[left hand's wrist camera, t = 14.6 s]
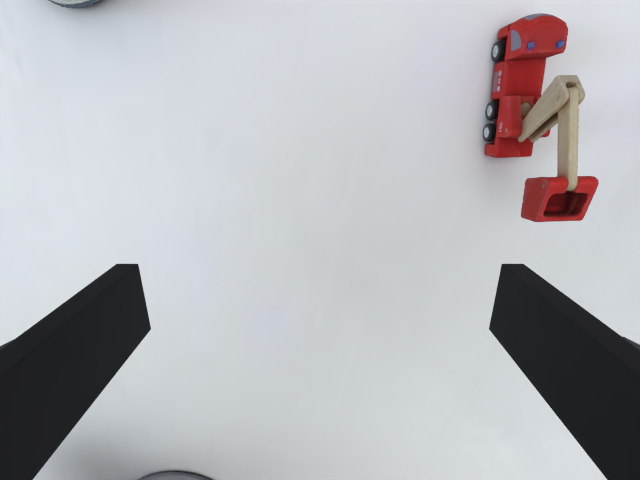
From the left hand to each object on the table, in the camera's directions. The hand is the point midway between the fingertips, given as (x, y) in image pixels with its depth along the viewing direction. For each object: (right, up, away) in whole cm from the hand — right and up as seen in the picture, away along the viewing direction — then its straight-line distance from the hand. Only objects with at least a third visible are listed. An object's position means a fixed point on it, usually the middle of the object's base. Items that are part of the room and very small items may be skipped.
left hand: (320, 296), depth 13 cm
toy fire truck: (+16, +13, +17) cm, 26 cm away
